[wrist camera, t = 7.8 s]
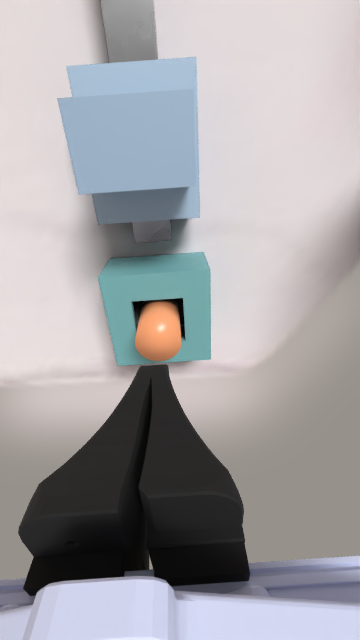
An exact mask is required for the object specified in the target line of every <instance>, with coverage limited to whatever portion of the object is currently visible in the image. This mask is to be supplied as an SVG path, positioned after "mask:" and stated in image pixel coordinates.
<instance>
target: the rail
mask: <svg viewBox="0 0 360 640" xmlns="http://www.w3.org/2000/svg"><path fill="white" fill-rule="evenodd" d="M100 1H101V8H102V15H103V22H104V29H105V36H106V43H107V50H108V57H109V63H117V62H131V61H145V60H158V52H157V38H156V25H155V12H154V0H100ZM132 226H133V233H134V240H135V243H137V242H151V241H166V240H171V224H170V220H158V221H143V222H132Z"/></svg>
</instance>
